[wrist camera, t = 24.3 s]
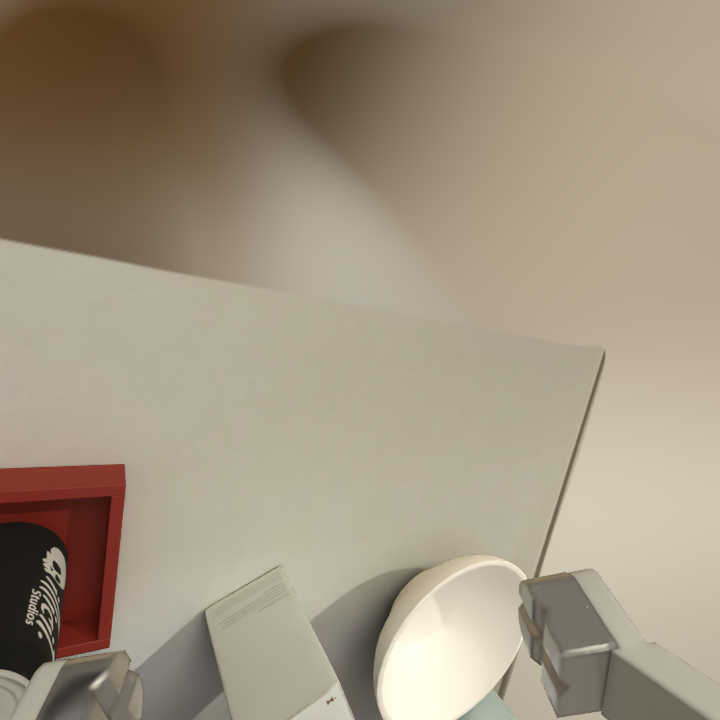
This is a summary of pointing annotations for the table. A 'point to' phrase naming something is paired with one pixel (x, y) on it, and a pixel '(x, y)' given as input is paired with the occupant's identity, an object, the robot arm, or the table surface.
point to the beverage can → (28, 605)
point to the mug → (489, 709)
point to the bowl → (448, 639)
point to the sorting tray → (75, 540)
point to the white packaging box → (272, 656)
